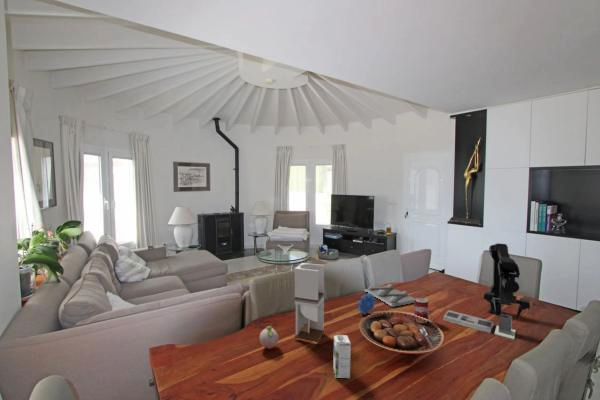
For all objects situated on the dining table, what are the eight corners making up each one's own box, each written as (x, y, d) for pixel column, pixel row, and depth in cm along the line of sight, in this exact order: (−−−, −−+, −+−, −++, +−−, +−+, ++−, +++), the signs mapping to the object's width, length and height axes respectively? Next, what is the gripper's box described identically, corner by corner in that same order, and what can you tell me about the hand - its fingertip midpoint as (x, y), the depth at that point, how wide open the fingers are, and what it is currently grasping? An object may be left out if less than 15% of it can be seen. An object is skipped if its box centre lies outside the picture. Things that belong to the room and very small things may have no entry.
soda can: (429, 325, 153) (430, 303, 153) (415, 323, 155) (415, 302, 154) (426, 319, 160) (427, 298, 160) (412, 317, 162) (413, 297, 161)
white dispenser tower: (294, 340, 138) (294, 268, 137) (302, 329, 148) (302, 262, 147) (317, 344, 134) (317, 271, 133) (323, 333, 144) (323, 265, 143)
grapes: (371, 309, 173) (371, 289, 172) (377, 314, 167) (378, 293, 166) (354, 312, 169) (354, 292, 168) (360, 317, 163) (360, 296, 162)
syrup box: (332, 370, 116) (333, 335, 115) (347, 369, 116) (347, 334, 116) (335, 379, 110) (335, 342, 110) (350, 378, 111) (351, 342, 110)
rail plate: (448, 313, 167) (448, 309, 167) (493, 325, 153) (493, 321, 153) (443, 320, 159) (443, 316, 159) (490, 333, 145) (490, 329, 145)
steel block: (499, 328, 149) (500, 312, 149) (511, 331, 146) (512, 315, 146) (498, 332, 145) (499, 316, 145) (510, 335, 142) (511, 319, 142)
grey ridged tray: (419, 303, 183) (419, 292, 182) (392, 309, 175) (392, 297, 174) (388, 288, 210) (388, 278, 210) (363, 292, 202) (363, 282, 202)
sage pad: (496, 326, 152) (496, 325, 152) (515, 331, 147) (515, 330, 147) (494, 334, 144) (494, 333, 144) (514, 339, 139) (514, 338, 139)
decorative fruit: (257, 345, 134) (257, 324, 133) (274, 341, 137) (274, 321, 137) (262, 356, 125) (262, 333, 125) (280, 352, 128) (280, 330, 128)
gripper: (482, 285, 144) (481, 316, 145) (530, 295, 132) (528, 328, 133) (485, 280, 153) (484, 309, 153) (530, 288, 141) (529, 319, 141)
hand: (505, 316), depth 145 cm, fingers open, 9 cm apart
